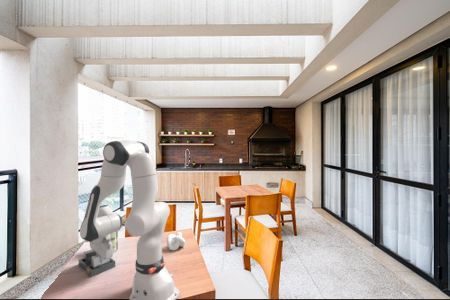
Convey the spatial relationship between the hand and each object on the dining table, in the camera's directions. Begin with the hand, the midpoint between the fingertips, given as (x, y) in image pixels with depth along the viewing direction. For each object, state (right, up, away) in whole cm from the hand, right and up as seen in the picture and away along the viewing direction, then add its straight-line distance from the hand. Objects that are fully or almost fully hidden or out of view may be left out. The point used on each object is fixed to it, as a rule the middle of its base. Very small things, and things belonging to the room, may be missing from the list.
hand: (101, 261), depth 112 cm
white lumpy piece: (+34, -5, +26) cm, 43 cm away
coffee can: (-7, -5, +20) cm, 22 cm away
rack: (-4, -5, +3) cm, 7 cm away
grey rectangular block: (0, -2, 0) cm, 2 cm away
